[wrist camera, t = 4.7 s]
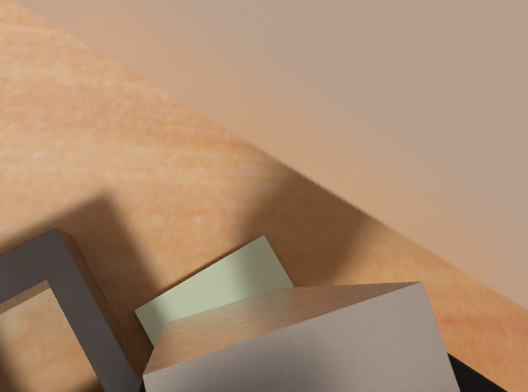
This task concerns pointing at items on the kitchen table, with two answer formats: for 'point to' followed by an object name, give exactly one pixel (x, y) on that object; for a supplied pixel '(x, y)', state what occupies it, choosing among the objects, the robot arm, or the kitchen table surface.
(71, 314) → the dark grey flat frame
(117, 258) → the kitchen table surface
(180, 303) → the green mat
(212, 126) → the kitchen table surface
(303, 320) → the grey tall rectangular block
